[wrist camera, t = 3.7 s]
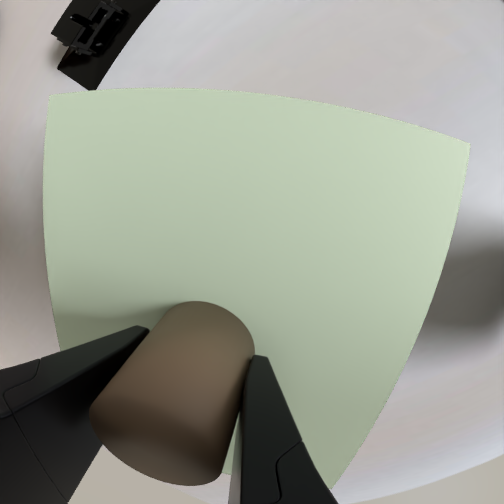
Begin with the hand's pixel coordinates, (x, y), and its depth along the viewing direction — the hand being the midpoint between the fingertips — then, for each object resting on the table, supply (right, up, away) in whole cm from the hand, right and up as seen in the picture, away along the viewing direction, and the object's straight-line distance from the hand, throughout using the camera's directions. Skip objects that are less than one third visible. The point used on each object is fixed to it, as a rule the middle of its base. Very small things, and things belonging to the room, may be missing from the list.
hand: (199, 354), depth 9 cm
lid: (0, 0, +2) cm, 2 cm away
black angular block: (-10, +20, +10) cm, 24 cm away
